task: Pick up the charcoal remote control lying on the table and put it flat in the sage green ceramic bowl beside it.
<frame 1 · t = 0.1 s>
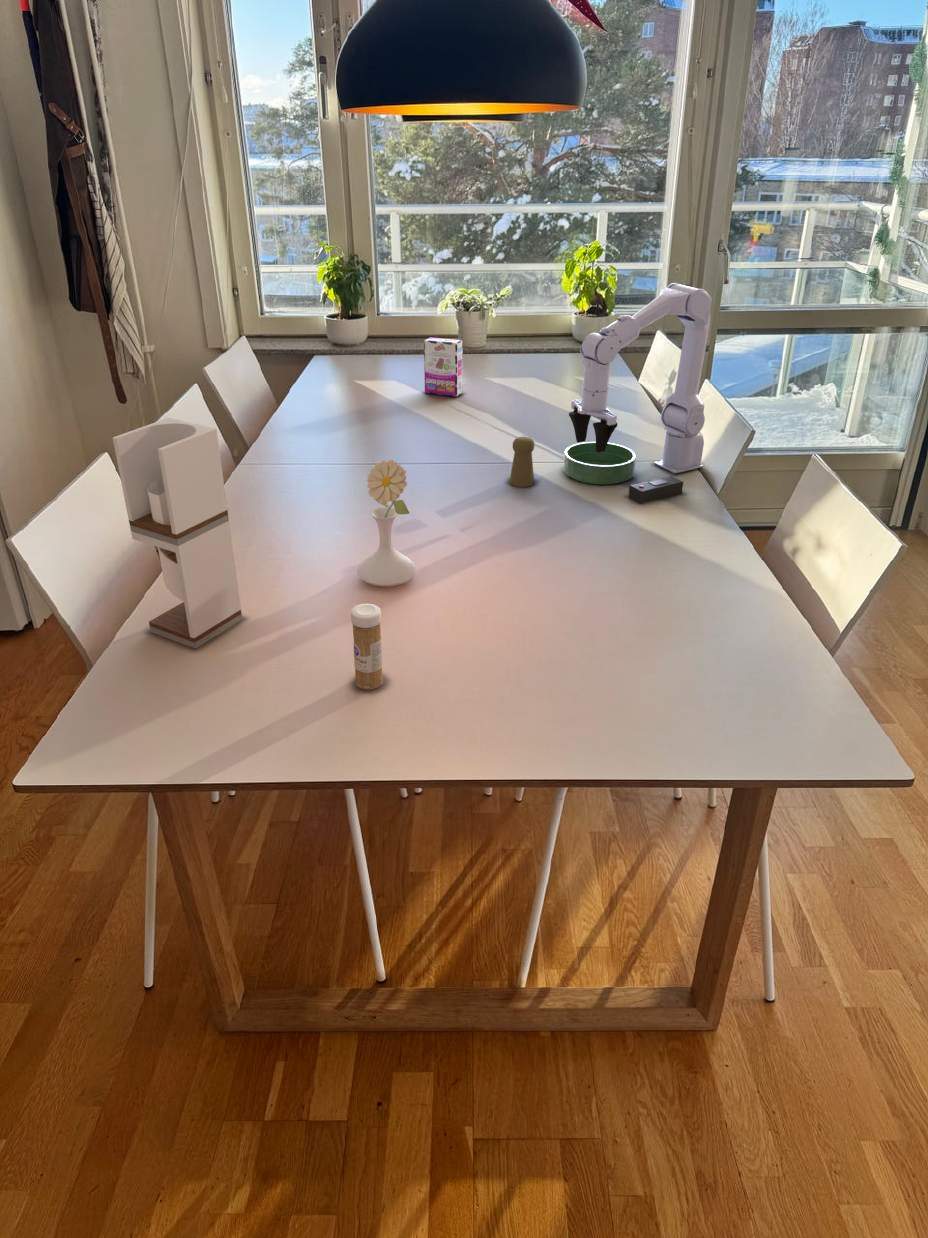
hand: (590, 446, 210), 10 cm above the table, tool pointing down, fingers open, 7 cm apart
bowl: (598, 472, 223), on the table
flower in vase: (389, 580, 173), on the table
sprinkles bottle: (369, 683, 143), on the table
white tiered shelf stand: (197, 626, 158), on the table
remote: (655, 495, 211), on the table
cork: (521, 482, 217), on the table
candy bar box: (443, 393, 281), on the table
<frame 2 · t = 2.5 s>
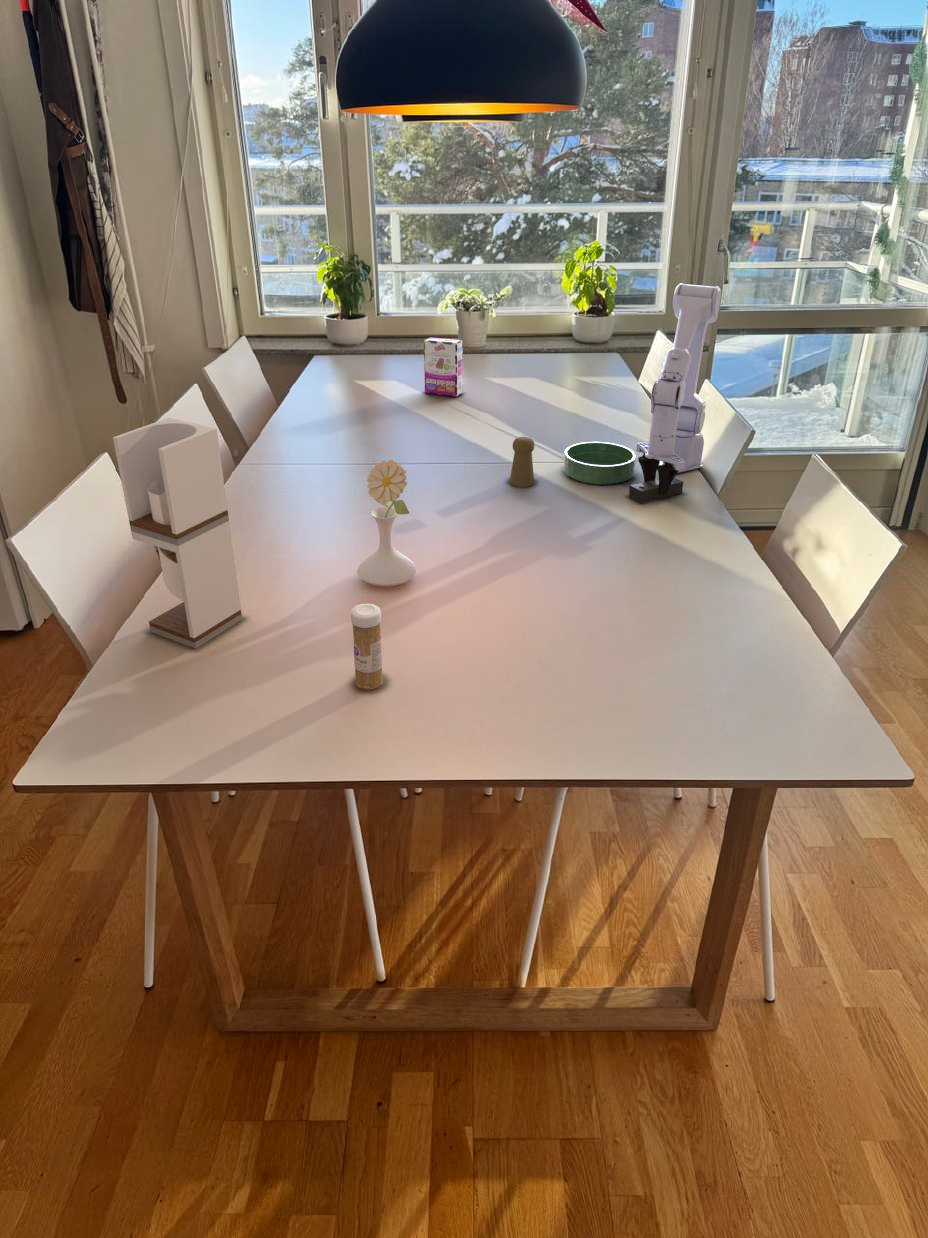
hand: (655, 489, 210), 1 cm above the table, tool pointing down, fingers closed on remote, 4 cm apart
remote: (655, 495, 211), on the table, touching gripper
everything else where it was.
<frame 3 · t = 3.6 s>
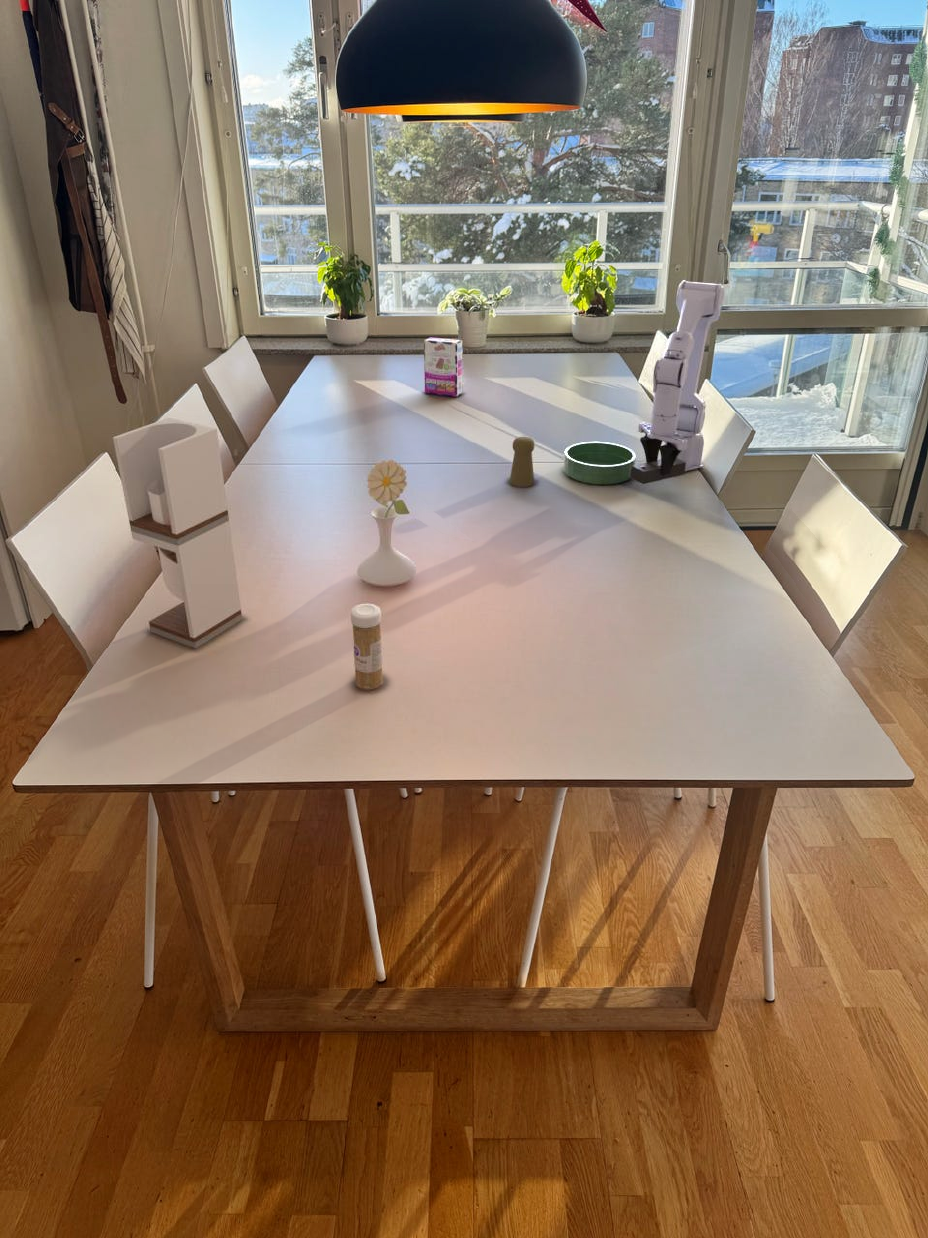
hand: (658, 470, 208), 6 cm above the table, tool pointing down, fingers closed on remote, 4 cm apart
remote: (657, 476, 209), point 5 cm above the table, touching gripper
everything else where it was.
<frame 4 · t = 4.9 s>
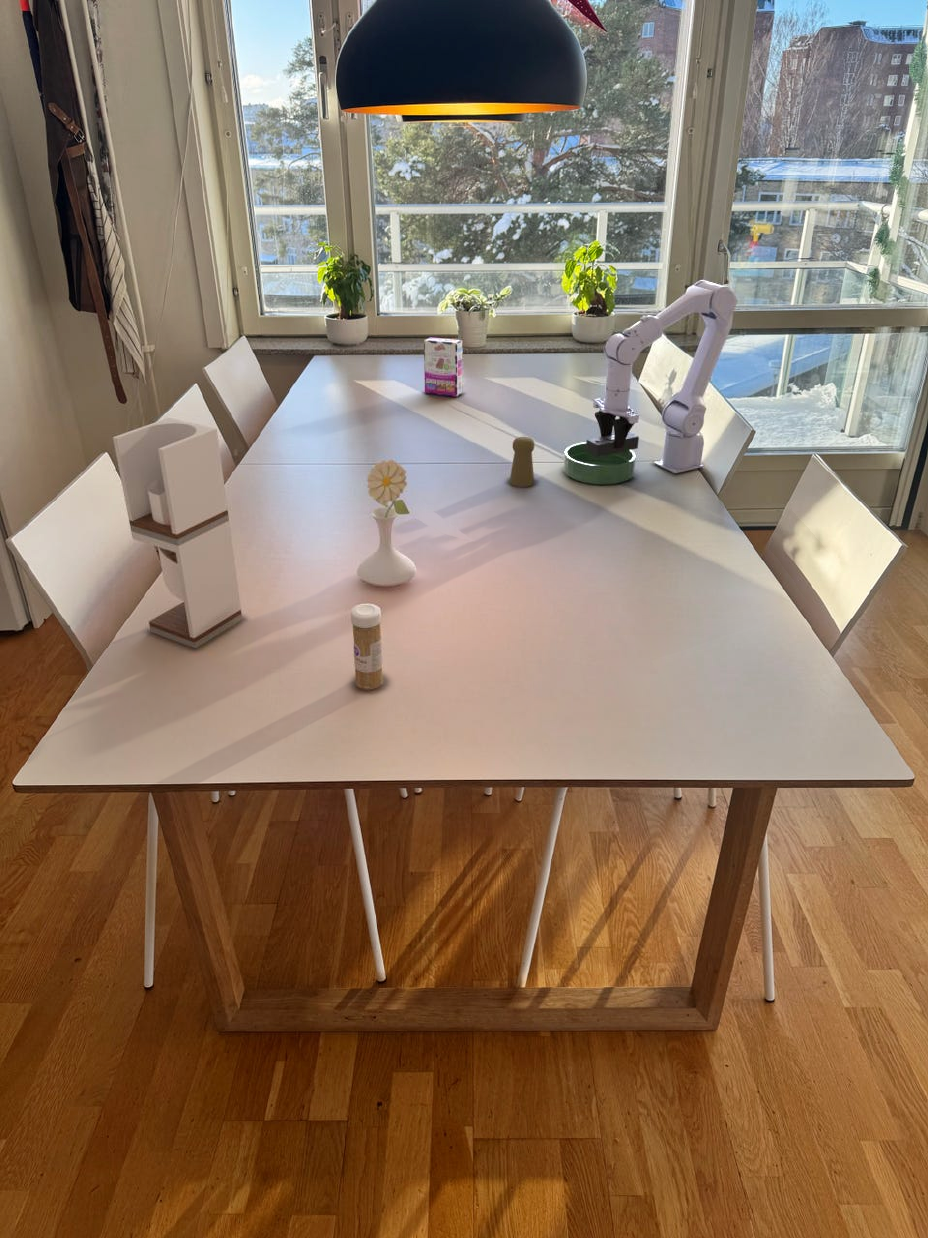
hand: (612, 444, 216), 8 cm above the table, tool pointing down, fingers closed on remote, 4 cm apart
remote: (611, 449, 217), point 7 cm above the table, touching gripper
everything else where it was.
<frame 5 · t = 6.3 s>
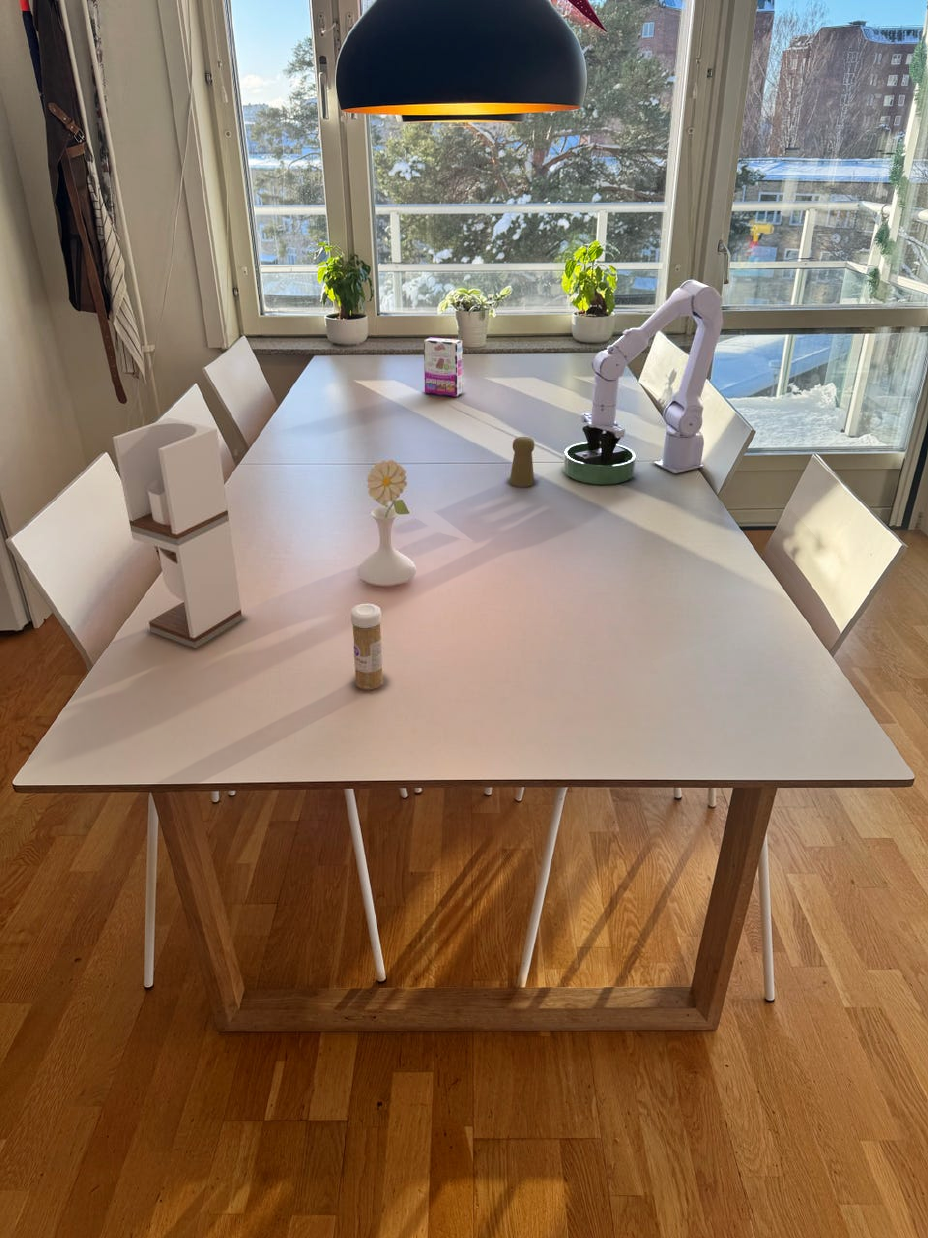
hand: (599, 457, 221), 4 cm above the table, tool pointing down, fingers closed on remote, 4 cm apart
remote: (599, 463, 222), point 3 cm above the table, touching gripper
everything else where it was.
when the fingers open (2 cm above the table, at t = 7.4 s): remote stays where it is, resting on bowl.
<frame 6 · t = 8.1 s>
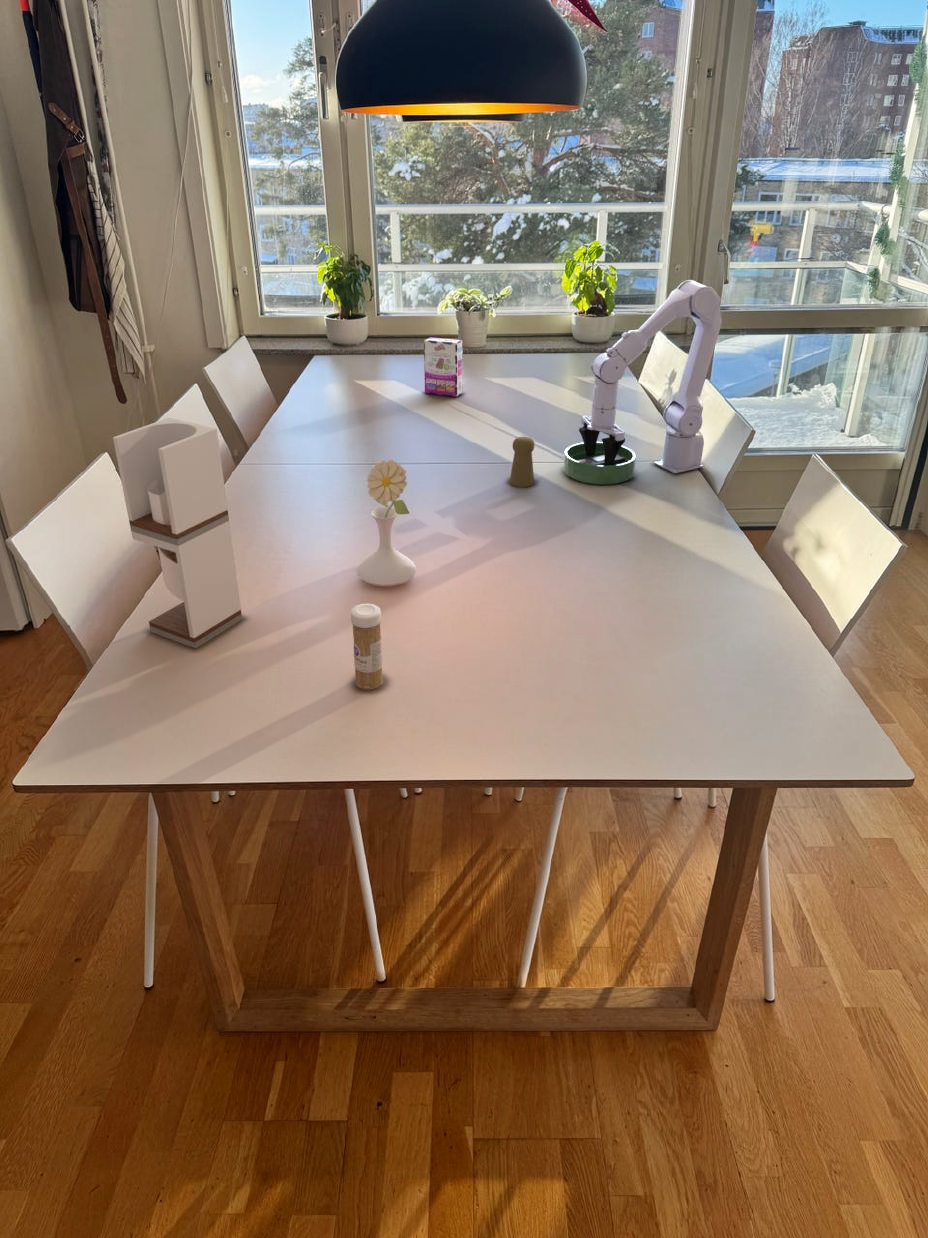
hand: (599, 460, 221), 3 cm above the table, tool pointing down, fingers open, 7 cm apart
remote: (598, 471, 223), resting on bowl
everything else where it was.
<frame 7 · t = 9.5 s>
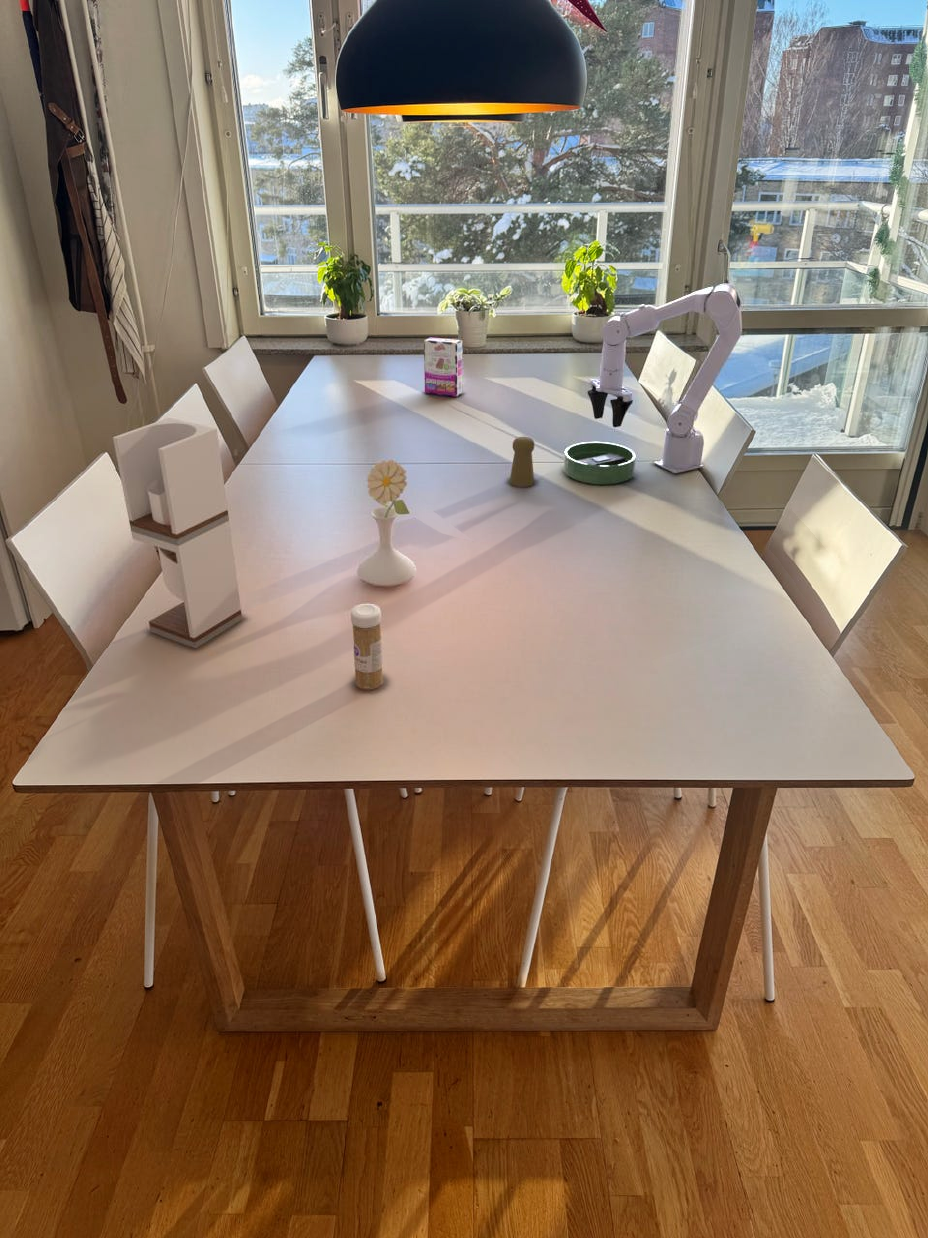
hand: (607, 422, 228), 9 cm above the table, tool pointing down, fingers open, 7 cm apart
nothing on the table moved.
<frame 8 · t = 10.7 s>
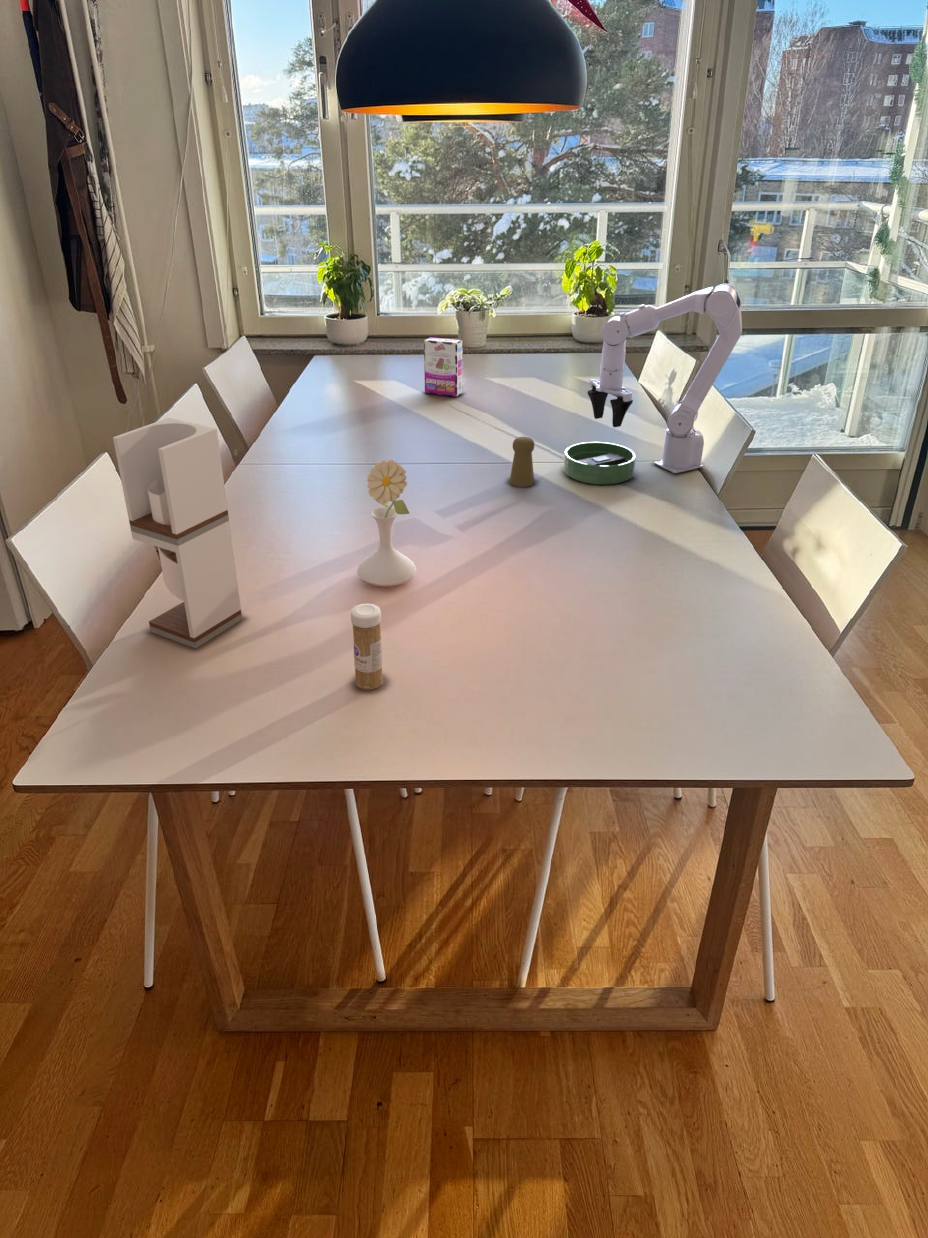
hand: (607, 422, 228), 9 cm above the table, tool pointing down, fingers open, 7 cm apart
nothing on the table moved.
at the end: remote inside the target area in the bowl (0.1 cm from its centre), point 0.5 cm above the bowl's base; the gripper is holding nothing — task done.
